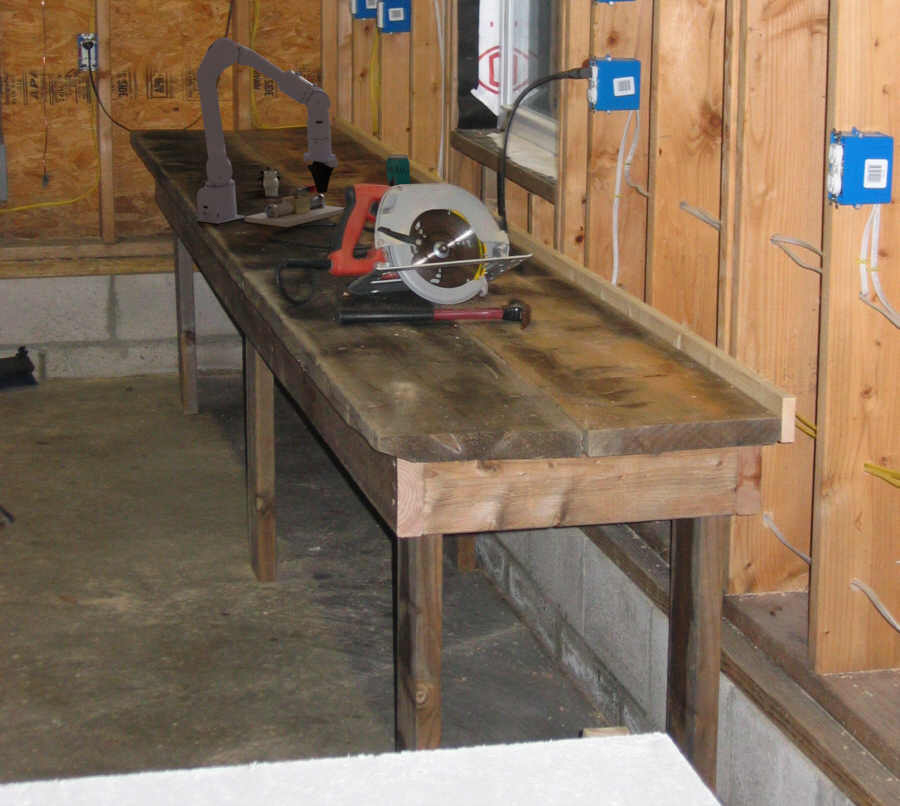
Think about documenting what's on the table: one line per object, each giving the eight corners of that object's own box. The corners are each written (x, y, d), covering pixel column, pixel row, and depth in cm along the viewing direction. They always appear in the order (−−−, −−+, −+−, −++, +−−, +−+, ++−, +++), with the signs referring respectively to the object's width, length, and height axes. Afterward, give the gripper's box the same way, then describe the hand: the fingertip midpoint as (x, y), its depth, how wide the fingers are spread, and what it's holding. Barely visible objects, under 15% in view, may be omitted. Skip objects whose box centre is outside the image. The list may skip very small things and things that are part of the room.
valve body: (278, 220, 347) (277, 202, 346) (264, 218, 350) (263, 200, 349) (327, 209, 361) (326, 191, 359) (313, 207, 364) (312, 189, 362)
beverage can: (384, 216, 354) (381, 155, 350) (404, 213, 357) (402, 153, 352) (395, 219, 350) (392, 158, 345) (415, 216, 352) (413, 156, 348)
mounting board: (286, 227, 343) (286, 222, 343) (245, 221, 352) (245, 216, 351) (346, 212, 360) (346, 208, 360) (306, 207, 368) (305, 203, 368)
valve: (284, 196, 386) (281, 189, 397) (282, 172, 384) (280, 165, 395) (259, 197, 385) (257, 190, 396) (258, 173, 383) (256, 166, 394)
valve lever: (295, 196, 352) (295, 189, 352) (288, 195, 354) (287, 188, 353) (323, 190, 360) (323, 183, 360) (315, 189, 362) (315, 182, 361)
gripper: (347, 139, 349) (350, 194, 353) (320, 133, 361) (322, 187, 365) (322, 142, 346) (325, 197, 350) (295, 136, 357) (298, 190, 361)
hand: (322, 192), depth 357 cm, fingers closed
